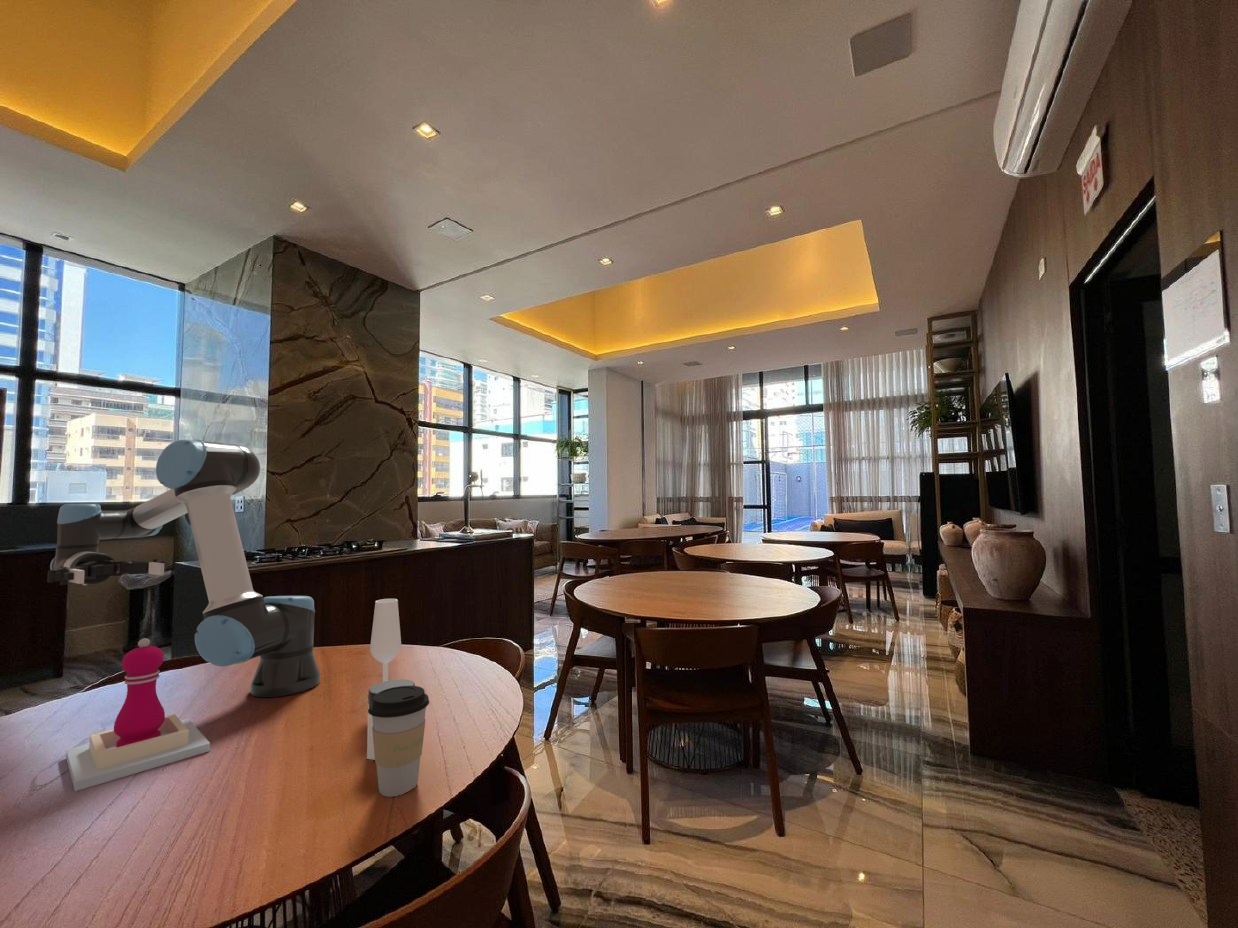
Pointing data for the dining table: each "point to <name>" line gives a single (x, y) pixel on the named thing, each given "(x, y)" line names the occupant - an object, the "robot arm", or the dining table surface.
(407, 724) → the coffee cup
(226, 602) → the robot arm
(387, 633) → the champagne flute
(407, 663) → the dining table surface
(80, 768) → the board
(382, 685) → the jar
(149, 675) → the pepper mill
